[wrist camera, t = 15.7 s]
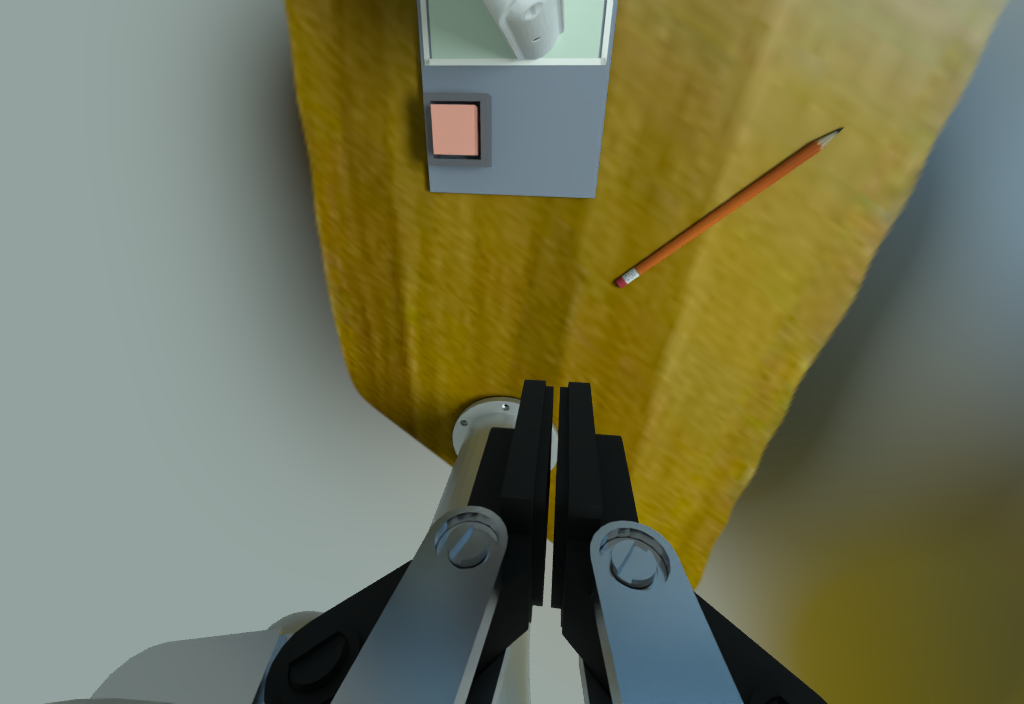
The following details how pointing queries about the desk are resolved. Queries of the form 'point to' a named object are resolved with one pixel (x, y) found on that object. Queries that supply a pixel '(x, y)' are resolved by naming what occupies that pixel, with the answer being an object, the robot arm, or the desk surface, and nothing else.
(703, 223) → the pencil
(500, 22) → the photo printer
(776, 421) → the desk surface
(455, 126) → the button
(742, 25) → the desk surface
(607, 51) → the activity board
